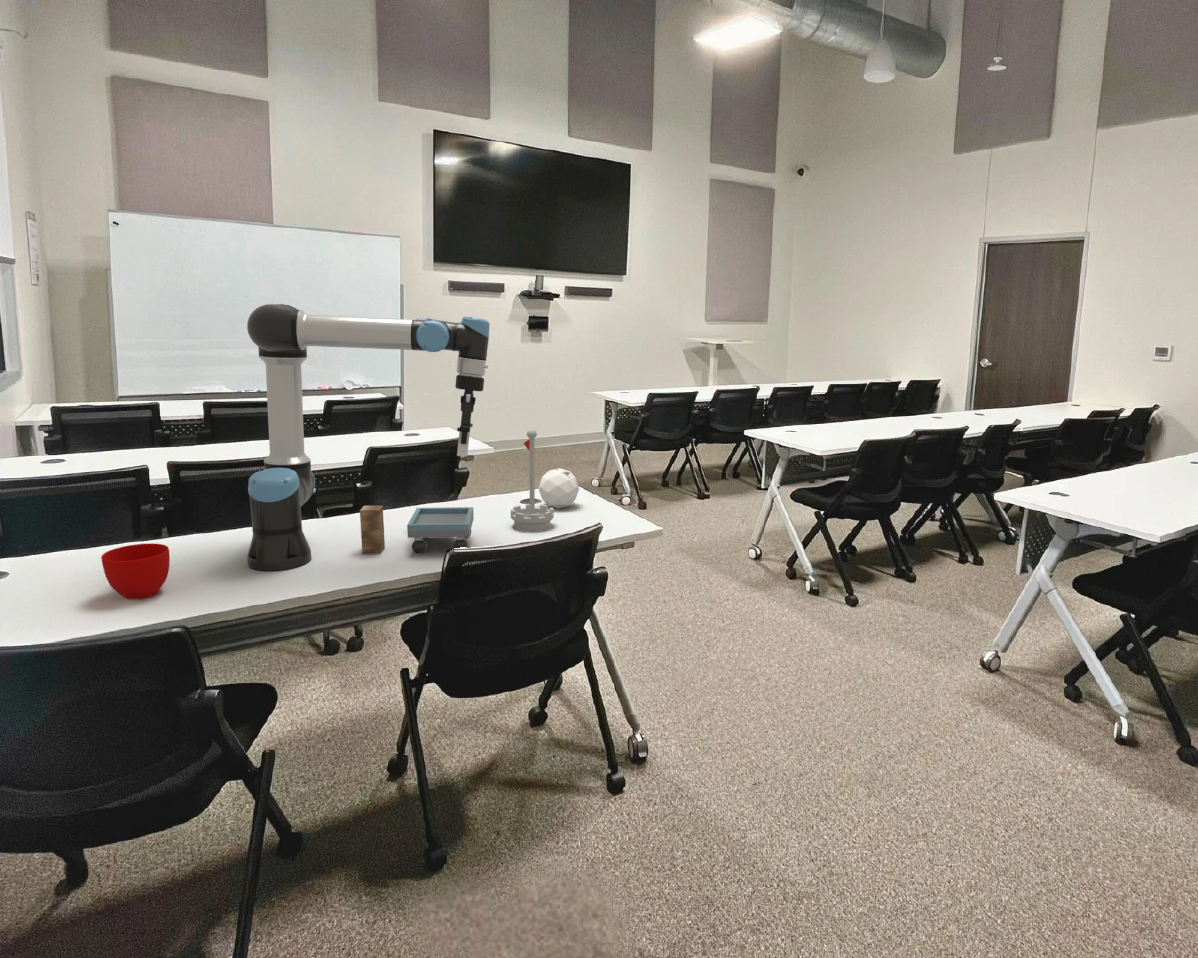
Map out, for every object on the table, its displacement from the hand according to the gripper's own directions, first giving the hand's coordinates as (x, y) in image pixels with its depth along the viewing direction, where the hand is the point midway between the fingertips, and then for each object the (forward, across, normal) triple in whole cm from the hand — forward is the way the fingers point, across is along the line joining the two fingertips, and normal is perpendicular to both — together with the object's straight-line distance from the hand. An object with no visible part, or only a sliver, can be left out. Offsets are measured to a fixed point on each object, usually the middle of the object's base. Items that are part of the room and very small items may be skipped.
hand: (462, 452), depth 205 cm
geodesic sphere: (+20, +38, -33) cm, 54 cm away
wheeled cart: (+26, 0, +3) cm, 26 cm away
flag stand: (+22, +16, -23) cm, 36 cm away
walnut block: (+29, -3, +21) cm, 36 cm away
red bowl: (+36, -28, +69) cm, 83 cm away
